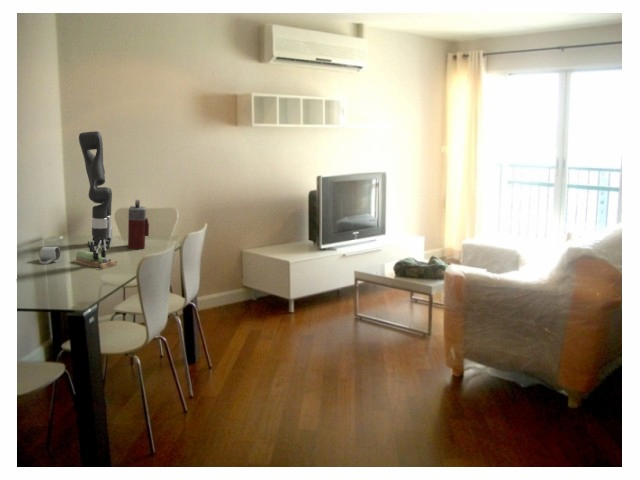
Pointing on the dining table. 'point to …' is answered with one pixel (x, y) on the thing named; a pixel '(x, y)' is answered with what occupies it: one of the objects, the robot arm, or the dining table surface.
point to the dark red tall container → (137, 226)
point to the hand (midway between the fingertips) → (99, 258)
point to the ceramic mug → (49, 254)
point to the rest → (96, 263)
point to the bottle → (90, 256)
